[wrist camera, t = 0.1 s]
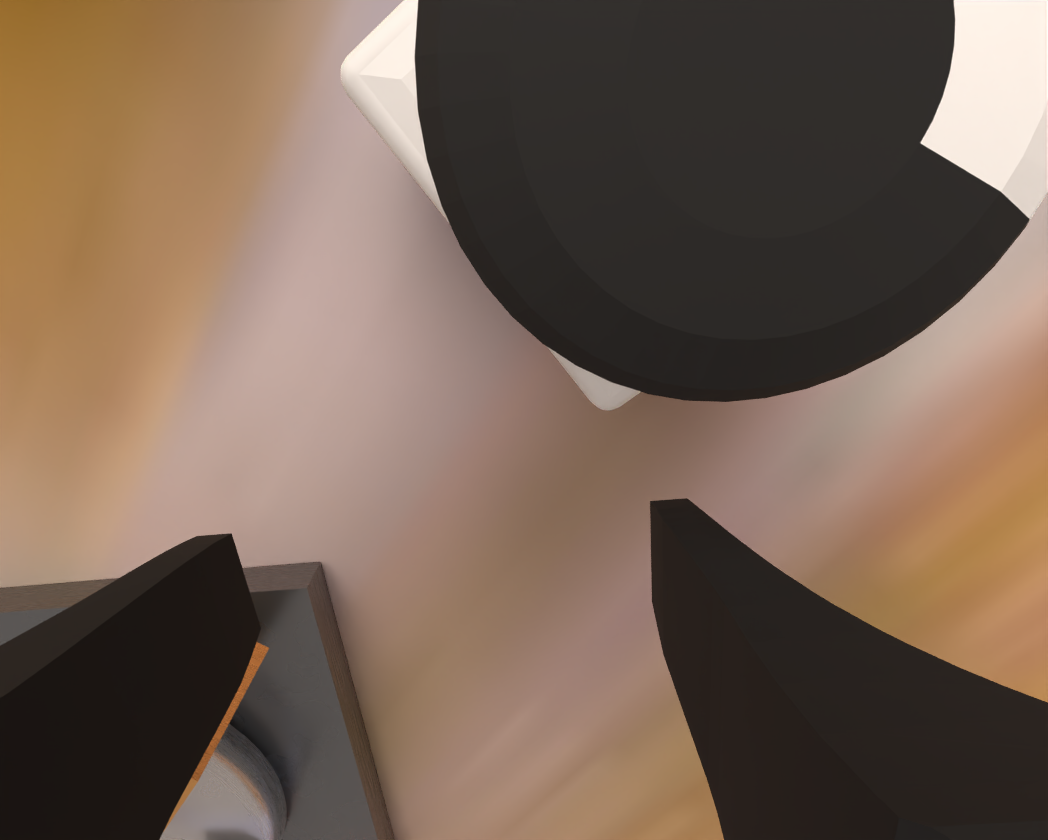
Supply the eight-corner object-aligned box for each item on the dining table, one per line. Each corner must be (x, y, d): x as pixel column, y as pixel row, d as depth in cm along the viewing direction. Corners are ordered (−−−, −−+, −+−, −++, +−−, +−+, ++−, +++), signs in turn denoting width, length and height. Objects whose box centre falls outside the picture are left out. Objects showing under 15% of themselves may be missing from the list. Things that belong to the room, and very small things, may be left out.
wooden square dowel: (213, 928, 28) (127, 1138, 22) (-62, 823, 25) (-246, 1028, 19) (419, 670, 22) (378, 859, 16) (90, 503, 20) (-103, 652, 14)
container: (576, 328, 19) (656, 599, 7) (408, 109, 17) (124, -21, 5) (799, 161, 18) (1397, 155, 5) (644, -110, 15) (1090, -1142, 3)
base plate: (405, 881, 29) (398, 922, 28) (37, 903, 30) (10, 944, 29) (320, 561, 23) (304, 591, 21) (-152, 600, 23) (-202, 632, 22)
